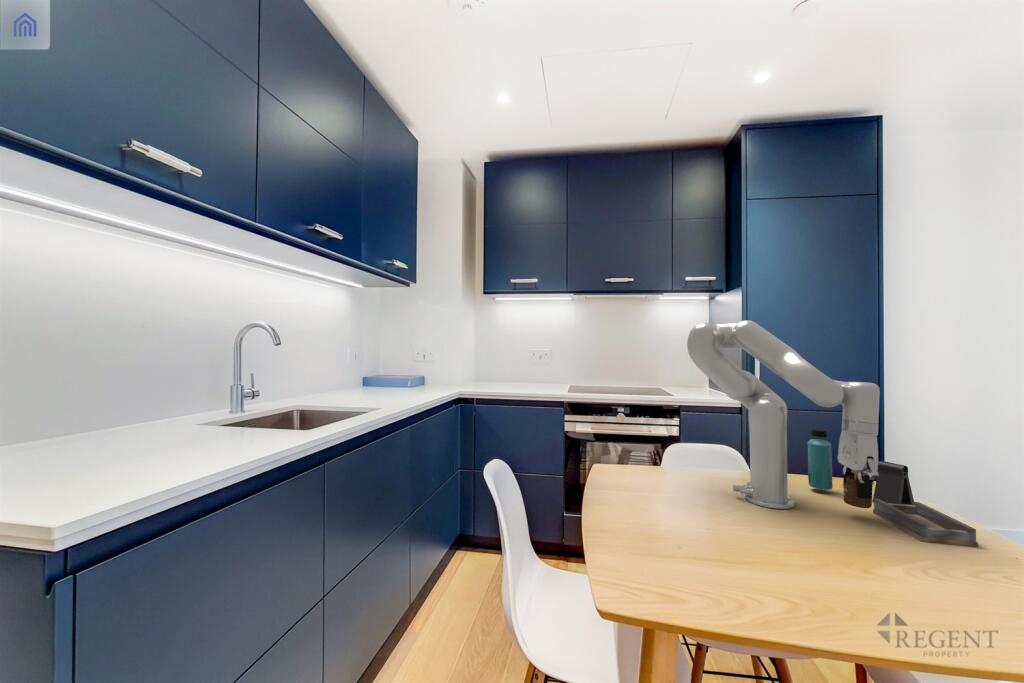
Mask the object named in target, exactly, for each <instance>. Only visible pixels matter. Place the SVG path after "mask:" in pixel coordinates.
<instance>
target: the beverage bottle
mask: <svg viewBox="0 0 1024 683" xmlns="http://www.w3.org/2000/svg"><path fill="white" fill-rule="evenodd" d="M810 432H811V433H810V436H811V437H815V438H811V439H809V440H808V441H807V469H808V470H807V481H808V486H810V487H811V488H813V489H818V490H822V491H823V490H825V491H830V490H832V489H833V487H834V486H833V485H834V484H833V475H834V474H833V472H834V471H833V461H832V460H833V459H832V444H831V443H830V442H829V441H828V440H825V439H820V438H828V435H827V430H825V429H819V428H812V429H811V431H810ZM816 437H817V438H816Z"/></svg>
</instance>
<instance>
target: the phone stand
mask: <svg viewBox="0 0 1024 683" xmlns="http://www.w3.org/2000/svg"><path fill="white" fill-rule="evenodd" d="M877 472H878V474H879V475H878V477H877V478H876V479H875V481H876V482H875V486H874V492H873V495H872V503H874V499H880V500H882V501H884V502H886V503H892V504H904V505H913V502H915V500H914V496H913V491H912V486H911V482H910V479H909V478H910V477H909V468H908V466H907V465H903V464H899V463H894V462H889V461H885V460H880V461H879V460H878V469H877Z"/></svg>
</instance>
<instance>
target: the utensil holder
mask: <svg viewBox="0 0 1024 683" xmlns="http://www.w3.org/2000/svg"><path fill="white" fill-rule="evenodd" d="M863 471H867V470H865V469H863ZM851 472H852V473H854V476H847V477H846V483H845V484H844V488H843V496H842V497H843V502H844V503H845V504H847V505H848V506H851V507H856V508H859V509H860V508H861V509H870V508H872V506H873V498H872V499H866V498H859V497H857V482H859V477H858V471H854V470H852V469H851ZM865 475H868V474H863V477H864V476H865ZM856 476H857V477H856Z"/></svg>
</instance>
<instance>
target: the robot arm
mask: <svg viewBox="0 0 1024 683" xmlns="http://www.w3.org/2000/svg"><path fill="white" fill-rule="evenodd" d="M686 346H687V353H688V355H689V357H690V359H691V360H692V363H694V365H695V366H696V367H697V368H698V369H699V370H700V371H701V372H702V373H703V374H705V375H706V377H708V378H709V379H710V381H712V382H713V383H714V385H715V386H717V387H718V388H719V389H720V390H721V392H723V393H724V394H725V395H726V396H727V397H728V398H730V399H731V400H733V401H738V402H739V403H741V405H742V406H743V407H745V408H746V409H747V410H748V427H749V430H748V431H749V467H750V468H749V474H750V475H749V477H750V478H749V479H750V480H749V481H747V482H746V484H744V485H740V484H733V485H732V491H733V492H739V493H740V494H743V495H744V498H745V500H746V501H748V502H750V503H752V504H755V505H757V506H761V507H765V508H770V509H779V510H780V509H781V510H787V509H791V508H794V507H795V501H794V500H793V499H792V498H790V497H789V496H788V489H789V488H788V434H787V433H788V430H787V426H788V424H787V423H788V421H787V420H788V406H787V404H786V402H785V401H784V400H783V399H782V398H781V396H779V395H778V394H777V393H776V392H774V391H773V390H772V388H770V387H769V386H767V385H766V384H765V382H762V381H761V380H760V379H759V378H758V377H756V376H755V375H754V374H753V373H751V372H750V371H746V370H743V369H742V368H740V367H738V366H737V365H736V364H735V363H734V362H733V361H732V360H730V359H729V358H728V357H727V356H726V355H725V354H724V353H723V352H722V351H720V350H719V349H741V350H743V351H744V352H746V353H748V354H749V355H750V356H752V357H753V358H754V359H755V360H757V361H758V362H760V363H761V364H762V365H763V366H765V367H766V368H767V369H769V371H771V372H772V373H774V374H775V375H777V376H778V377H780V378H781V379H783V380H784V381H785V382H787V383H788V384H789V385H790V386H792V387H793V388H794V389H795V390H797V391H798V392H800V393H801V394H802V395H803V396H805V397H806V398H807V399H809V400H810V401H812V402H813V403H815V404H816V405H817V406H820V407H822V408H834V407H836V406H839V405H841V406H842V418H841V419H842V420H841V432H840V435H839V440H838V441H839V442H838V450H837V451H838V452H837V461H838V463H839V464H840V465H841V467H842V474H843V481H842V482H843V484H842V488H843V489H844V484H845V483H846V477H847V476H854V473H852V472H851V469H852V470H854V471H858V474H857V475H856V477H857V476H858V477H859V482H857V497H859V498H866V499H872V500H873V487H874V484H875V481H876V480H877V477H878V475H879V474H878V463H879V445H878V437H877V436H878V435H879V422H880V421H879V416H880V397H881V396H880V394H881V393H880V389H881V388H880V387H879V385H877V384H876V383H873V382H864V381H844V380H843V381H842V380H837V379H833V378H830V377H829V376H827V375H826V374H825V373H823V372H822V371H821V370H819V369H818V368H816V367H815V366H813V365H812V364H811V363H810V362H808V361H807V360H806V359H804V357H802V356H801V355H800V354H799V353H798V352H797V351H796V350H795V349H794V348H792V347H791V346H789V345H788V344H786V342H783V341H782V340H780V339H779V338H778V337H777V336H775V335H773V333H771V332H769V331H768V330H767V329H765V328H764V327H762V326H761V325H760V324H758V323H757V322H755V321H753V320H750V319H748V320H745V319H743V320H741V321H739V322H736V323H723V324H722V323H719V324H716V323H715V324H714V323H710V322H700V323H698V324H696V325H694V326H693V328H691V329H690V332H689V334H688V337H687V342H686ZM864 469H865V470H864ZM866 470H867V471H866ZM866 474H867V475H866ZM863 475H864V476H863Z"/></svg>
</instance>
